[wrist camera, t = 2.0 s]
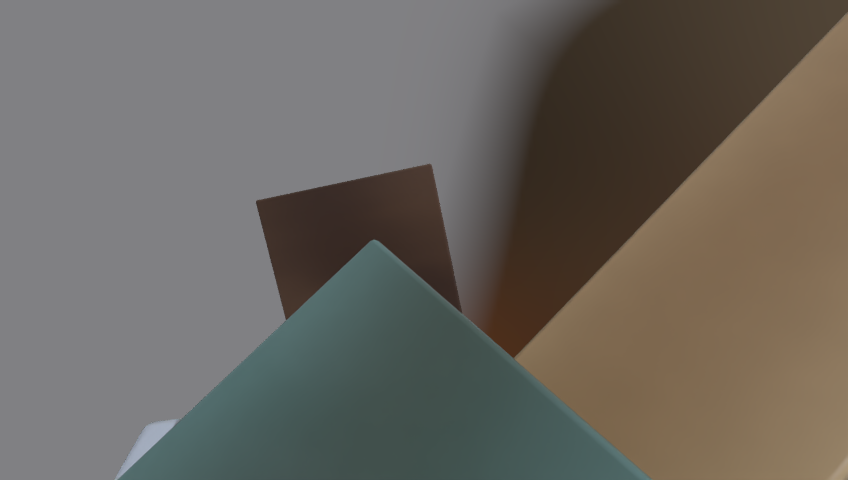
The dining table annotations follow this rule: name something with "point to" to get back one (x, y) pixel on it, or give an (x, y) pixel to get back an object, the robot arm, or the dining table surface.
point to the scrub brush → (582, 343)
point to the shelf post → (357, 231)
